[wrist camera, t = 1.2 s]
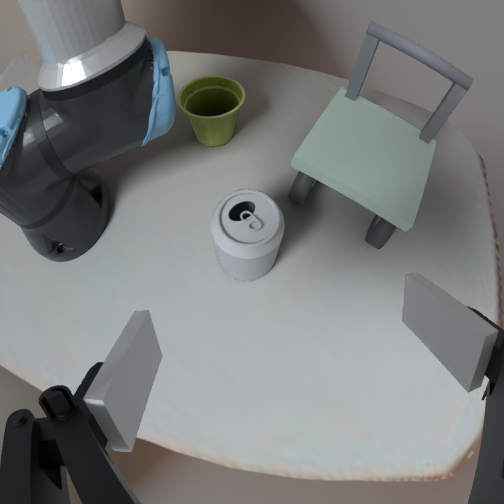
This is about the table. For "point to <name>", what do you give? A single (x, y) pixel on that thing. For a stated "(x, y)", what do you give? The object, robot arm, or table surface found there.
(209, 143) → the plant pot
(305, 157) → the trolley
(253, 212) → the can
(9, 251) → the table surface
